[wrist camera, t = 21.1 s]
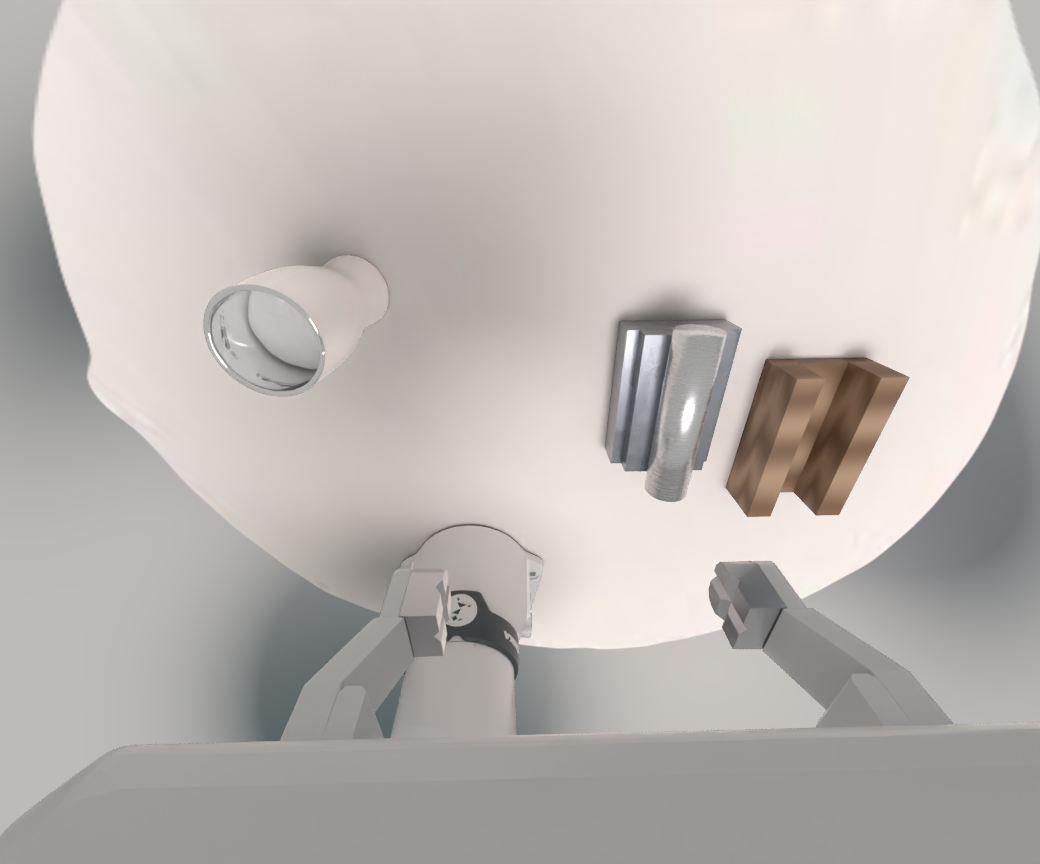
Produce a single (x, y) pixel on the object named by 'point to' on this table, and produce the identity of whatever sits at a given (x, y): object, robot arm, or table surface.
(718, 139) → the table surface
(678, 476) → the axle
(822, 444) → the wooden channel cradle
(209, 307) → the beer glass
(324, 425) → the table surface
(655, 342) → the v block
